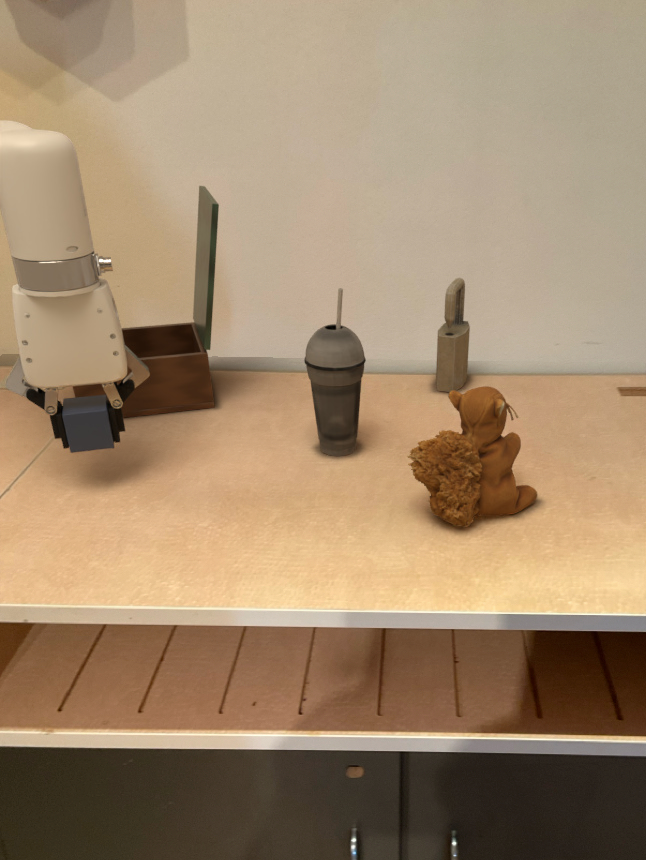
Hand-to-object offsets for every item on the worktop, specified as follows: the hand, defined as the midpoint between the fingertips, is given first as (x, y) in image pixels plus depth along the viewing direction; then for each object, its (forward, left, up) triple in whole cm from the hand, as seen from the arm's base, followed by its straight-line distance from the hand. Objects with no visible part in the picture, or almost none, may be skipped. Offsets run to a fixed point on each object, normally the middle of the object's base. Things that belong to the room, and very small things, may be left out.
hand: (91, 438), depth 87 cm
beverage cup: (+28, +2, -6) cm, 29 cm away
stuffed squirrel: (+38, -17, -6) cm, 43 cm away
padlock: (+50, +19, -6) cm, 54 cm away
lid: (+16, +27, +11) cm, 33 cm away
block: (0, 0, 0) cm, 0 cm away
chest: (+6, +27, -6) cm, 28 cm away
